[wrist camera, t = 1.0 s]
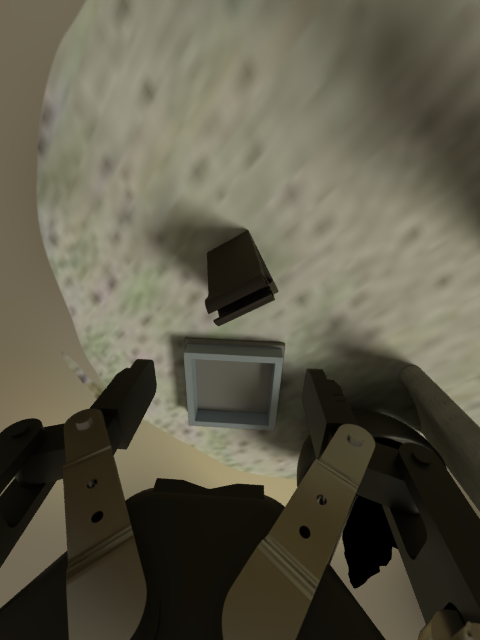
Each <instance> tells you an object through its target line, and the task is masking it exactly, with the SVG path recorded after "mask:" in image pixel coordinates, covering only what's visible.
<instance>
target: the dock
mask: <svg viewBox="0 0 480 640" xmlns="http://www.w3.org/2000/svg"><path fill="white" fill-rule="evenodd" d="M184 344H185V351H184V366H185V379H186V393H187V406H188V419H189V425H190V426H206V427H222V428H238V429H254V430H270V431H275V423H276V418H277V410H278V402H279V393H280V385H281V377H282V369H283V360H284V352H285V343H273V342H254V341H234V340H215V339H195V338H185V340H184Z"/></svg>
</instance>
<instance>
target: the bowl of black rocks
mask: <svg viewBox="0 0 480 640" xmlns="http://www.w3.org/2000/svg"><path fill="white" fill-rule="evenodd" d="M352 412H353V414H354V416H355V418H356V421H357V423H358V425H359V427H362V428H363V429H365V430H366V431H367V432H369V433H370V434H371V436H372V437H373V439H374V441H375V442H377V443H380V444H383V445H386V446H389V447H392V448H395V449H398V450H399V448H400V446H401V445H402V444H403V443H408V442H410V443H416V444H419V445H422V446H424V447H426V448H427V449H429V450H430V451H432V452H433V453H434V454H435V455H436V456H437V457H438V458H439V459H440V460H441V462H442V463H443V465H444V466H445V468H446V465H445V462H444V460H443V458H442V457H441V455H440V454H439V453H438V451H437V450H436V449H435V448H434V447H433V446H432V445H431V444H430V443H429V442H428V441H427V440H426V439H425V438H424V437H423V436H421V435H420V434H419V433H418V432H416V431H415V430H414V429H412V428H411V427H409V426H408V425H406V424H404V423H402V422H401V421H399V420H397V419H394V418H392V417H390V416H387V415H384V414H381V413H377V412H372V411H363V410H354V411H352ZM315 459H316V455H315V451H314V447H313V443H312V439H311V435H309V436H308V437H307V439H306V441H305V443H304V445H303V447H302V450H301V453H300V456H299V460H298V466H297V487H298V486H299V484H300V483H301V481H302V479H303V478H304V476H305V475H306V473H307V472H308V470H309V468H310V467H311V465H312V464H313V462H314V461H315ZM446 469H447V468H446ZM342 540H343V544H344V549H345V552H344V555H345V558H346V561H347V564H348V567H349V573H348V575H349V578H350V583H351V584H352V586H353V588H358V587H360V586H361V585H363V584H364V583H365V582H366V581H367V579H369V578H370V577H371V576H373V575H375V574H377V573H379V572H380V569H379V567H380V566H386V565H387V564H388V563H389V561H390V560H391V557H392V547H394V548H397V549H398V547H397V544H396V542H395V539H394V536H393V534H392V531H391V528H390V525H389V523H388V520H387V517H386V515H385V512H384V509H383V506H382V504H380V503H377V502H375V501H372V500H370V499H367V498H365V497H362V496H359V495H357V497H356V500H355V502H354V505H353V507H352V510H351V512H350V515H349V517H348V520H347V522H346V525H345V527H344V530H343V535H342Z"/></svg>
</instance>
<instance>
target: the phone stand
mask: <svg viewBox="0 0 480 640" xmlns="http://www.w3.org/2000/svg"><path fill="white" fill-rule="evenodd" d="M207 262H208V291H209V294H208V297H207V298H206V299H205V306H206V309H207V312H208V314H210V313H212V312H214V311H216V310H217V311H218V314H219V318H217V319H215V320H214V323H215V324H216V325H217V326H220V325H223V324H225V323H227V322H229V321H231V320H233V319H235V318H237V317H240V316H242V315H244V314H246V313H248V312H250V311H252V310H254V309H257V308H259V307H261V306H263V305H265V304H267V303H269V302H271V301H274V300H275V298H274V294H275V293H277V292H278V289H277V287H276V285H275V283H274V281H273V279H272V277H271V275H270V273H269V271H268V269H267V267H266V265H265V263H264V261H263V259H262V257H261V255H260V253H259V251H258V249H257V247H256V245H255V243H254V241H253V239H252V236H251V234H250V232H249V231H248V230H247V231H246V232H244V233H242V234H240V235H238V236H237V237H235V238H233V239H231V240H229V241H228V242H226V243H224V244H222V245H220V246H219V247H217V248H215V249H213V250H211V251H210V252H208V253H207Z"/></svg>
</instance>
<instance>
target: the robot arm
mask: <svg viewBox="0 0 480 640" xmlns="http://www.w3.org/2000/svg"><path fill="white" fill-rule="evenodd" d="M156 387H157V383H156V376H155V368H154V362H153V360H147V359H137V360H136V361H135V362H134V364H133V365H132V366H131V368H125V369H124V370H122V371H121V372H119V373H118V374H117V375H116V376H115V377H114V379H113V380H112V382H110V384H109V385H108V386H107V388H106V389H105V390H104V391H103V392H102V394H101V395H100V396H99V397H98V399H97V400H96V401H95V402H94V404H93V405H92V406H91V407H90V409H85V410H82V411H80V412H78V413H76V414H74V415H73V416H71V417H70V418H69V419H68V420H67V421H66V422H65V423H64V424H59V425H54V426H48V427H43V425H42V422H41V421H40V420H38V419H33V418H32V419H25V420H21V421H19V422H16V423H14V424H12V425H10V426H9V427H7V428H6V429H4V430H3V431H2V432H1V433H0V494H1V492H2V491H3V490H4V489H5V487H6V486H7V485H8V484H9V482H10V481H11V480H12V479H13V477H14V476H15V479H14V480H13V481H12V482H11V484H10V485H9V486H8V488H7V489H6V490H5V491H4V493H3V494H2V495H1V496H0V567H1V566H2V564H3V563H4V561H5V560H6V558H7V557H8V555H9V554H10V552H11V550H12V549H13V547H14V546H15V544H16V543H17V541H18V540H19V538H20V536H21V535H22V533H23V532H24V530H25V529H26V527H27V526H28V524H29V522H30V521H31V520H32V518H33V516H34V515H35V513H36V512H37V510H38V509H39V507H40V506H41V504H42V503H43V501H44V499H45V498H46V496H47V495H48V493H49V492H50V490H51V488H52V487H53V486H54V484H55V482H56V481H57V480H60V479H63V484H64V499H65V501H64V502H65V519H66V534H67V551H66V552H65V553H64V554H63V555H61V556H60V557H59V558H58V559H57V560H56V561H55V562H53V563H52V564H51V565H50V566H49V567H48V568H46V569H45V570H44V571H43V572H42V573H41V574H40V575H39V576H37V577H36V578H35V579H34V580H33V581H32V582H30V583H29V584H28V585H27V586H26V587H25V588H23V589H22V590H21V591H20V592H19V593H18V594H16V595H15V596H14V597H13V598H12V599H11V600H10V601H8V602H7V603H6V604H5V605H4V606H3V607H1V608H0V640H385V638H384V637H383V636H382V634H381V633H380V631H379V630H378V629H377V627H376V626H375V625H374V623H373V622H372V621H371V619H370V618H369V617H368V615H367V614H366V613H365V611H364V610H363V609H362V607H361V606H360V605H359V603H358V602H357V601H356V599H355V598H354V596H353V595H352V594H351V592H350V591H349V590H348V588H347V587H346V586H345V584H344V583H343V582H342V580H341V579H340V578H339V576H338V575H337V574H336V572H335V571H334V569H333V568H332V567H331V566H330V563H331V560H332V558H333V556H334V553H335V551H336V548H337V545H338V543H339V540H340V538H341V535H342V532H343V530H344V527H345V525H346V522H347V520H348V517H349V515H350V512H351V510H352V507H353V505H354V502H355V500H356V497H357V495H359V496H362V497H365V498H367V499H370V500H372V501H375V502H377V503H380V504H382V506H383V509H384V512H385V515H386V517H387V520H388V523H389V525H390V528H391V531H392V534H393V536H394V539H395V542H396V544H397V547H398V550H399V552H400V555H401V558H402V561H403V563H404V566H405V568H406V571H407V574H408V577H409V579H410V582H411V585H412V588H413V590H414V593H415V596H416V598H417V601H418V604H419V607H420V609H421V612H422V615H423V617H424V620H425V623H426V625H425V627H424V628H423V629H422V630H421V631H420V633H419V635H418V639H417V640H480V519H479V517H478V516H477V515H476V513H475V511H474V510H473V509H472V507H471V506H470V504H469V502H468V501H467V500H466V498H465V496H464V495H463V493H462V492H461V490H460V489H459V487H458V486H457V484H456V483H455V481H454V480H453V478H452V477H451V475H450V474H449V472H448V471H447V469H446V468H445V466H444V465H443V463H442V462H441V460H440V459H439V458H438V457H437V456H436V455H435V454H434V453H433V452H432V451H430V450H429V449H427V448H426V447H424V446H422V445H419V444H416V443H410V442H408V443H403V444H402V445H401V446H400V448H399V450H398V449H395V448H392V447H389V446H386V445H383V444H380V443H377V442H375V441H374V439H373V437H372V436H371V434H370V433H369V432H367V431H366V430H365V429H363V428H362V427H359V425H358V423H357V421H356V418H355V416H354V414H353V412H352V410H351V408H350V406H349V404H348V403H347V400H346V397H345V396H344V393H343V391H342V389H341V387H340V386H339V385H338V384H337V383H336V382H335V381H334V380H328V379H327V378H326V376H325V373H324V371H323V370H322V369H307V370H306V375H305V381H304V387H303V394H302V401H303V407H304V411H305V415H306V419H307V423H308V427H309V431H310V435H311V439H312V443H313V447H314V451H315V455H316V459H315V461H314V462H313V464H312V465H311V467H310V468H309V470H308V472H307V473H306V475H305V476H304V478H303V479H302V481H301V483H300V484H299V486H298V487H297V489H296V491H295V492H294V494H293V495H292V497H291V499H290V500H289V502H288V503H287V505H286V507H284V506H283V505H282V504H281V503H279V502H278V501H276V500H274V499H273V498H271V497H268V496H266V495H264V486H263V485H249V484H233V485H228V486H223V487H218V488H213V489H206V488H204V487H201V486H198V485H196V484H193V483H190V482H187V481H184V480H176V479H161V478H157V480H156V483H155V485H154V488H150V489H147V490H144V491H141V492H139V493H137V494H135V495H134V496H132V497H130V498H129V499H127V500H126V501H125V498H124V494H123V490H122V486H121V483H120V478H119V475H118V471H117V467H116V463H115V459H114V454H115V452H116V450H117V449H127V448H128V446H129V444H130V442H131V440H132V438H133V436H134V434H135V432H136V430H137V428H138V427H139V425H140V423H141V421H142V419H143V417H144V415H145V413H146V411H147V409H148V407H149V405H150V403H151V401H152V399H153V398H154V395H155V393H156Z"/></svg>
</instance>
